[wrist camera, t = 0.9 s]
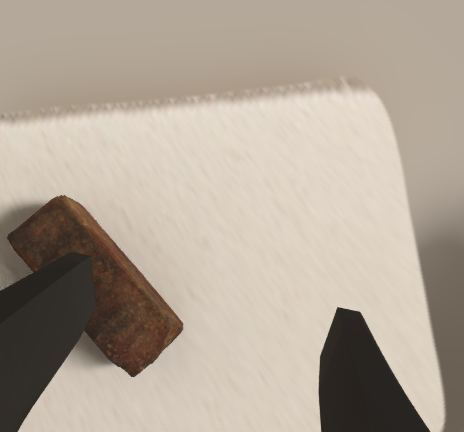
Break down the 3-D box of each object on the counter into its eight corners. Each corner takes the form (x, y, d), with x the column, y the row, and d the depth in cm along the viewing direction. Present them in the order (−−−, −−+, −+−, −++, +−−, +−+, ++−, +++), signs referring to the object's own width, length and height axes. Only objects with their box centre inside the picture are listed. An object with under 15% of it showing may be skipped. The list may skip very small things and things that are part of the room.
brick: (33, 240, 25) (-2, 238, 21) (82, 202, 26) (58, 190, 21) (139, 363, 25) (127, 388, 21) (185, 322, 26) (184, 337, 21)
